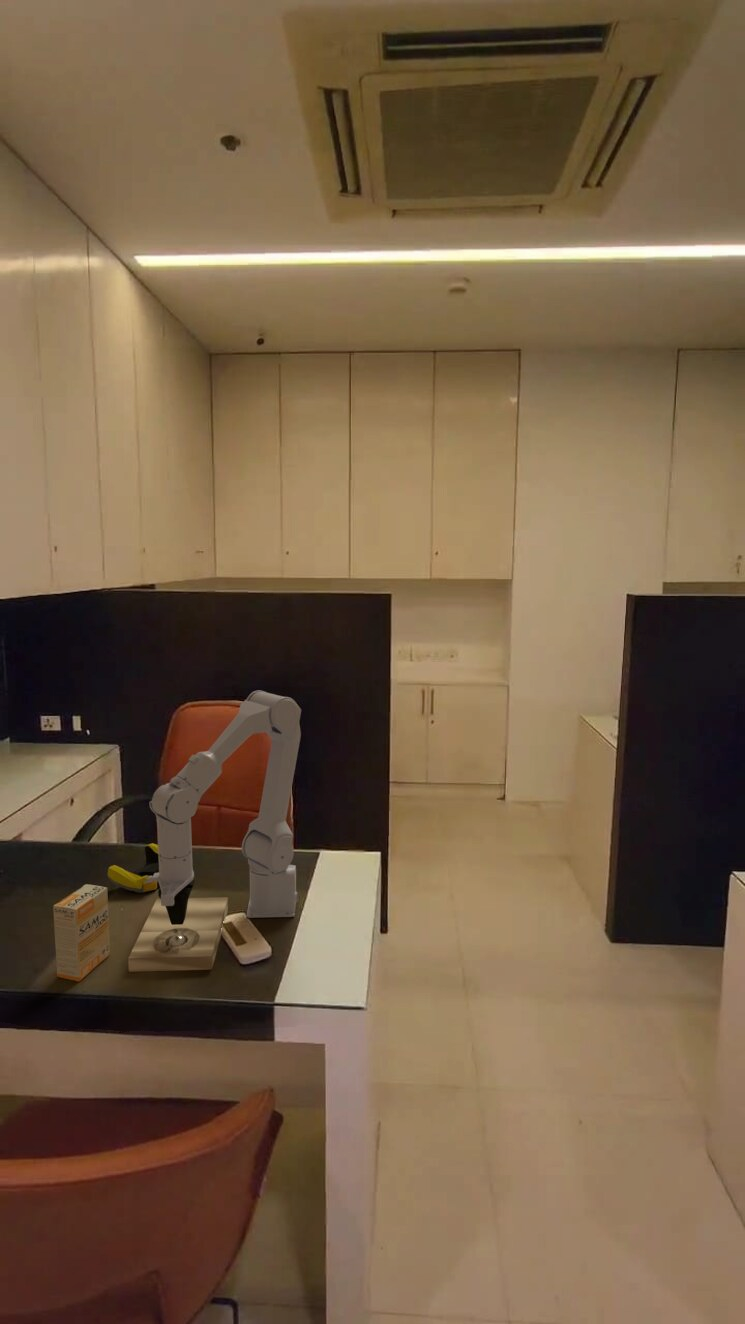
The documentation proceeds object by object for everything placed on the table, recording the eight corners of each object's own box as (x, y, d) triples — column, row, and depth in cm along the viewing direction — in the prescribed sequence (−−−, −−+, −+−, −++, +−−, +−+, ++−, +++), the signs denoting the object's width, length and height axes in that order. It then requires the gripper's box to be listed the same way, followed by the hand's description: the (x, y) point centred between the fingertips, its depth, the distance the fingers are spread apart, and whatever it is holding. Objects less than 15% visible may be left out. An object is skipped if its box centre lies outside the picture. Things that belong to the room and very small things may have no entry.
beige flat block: (157, 910, 135) (156, 898, 135) (228, 908, 136) (227, 897, 136) (128, 971, 116) (128, 958, 115) (211, 969, 117) (211, 956, 116)
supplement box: (80, 983, 112) (76, 910, 110) (56, 977, 114) (51, 905, 112) (112, 955, 120) (108, 886, 118) (89, 950, 121) (85, 882, 119)
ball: (167, 958, 120) (185, 954, 122) (173, 950, 118) (190, 947, 120) (164, 941, 122) (181, 937, 124) (169, 933, 120) (186, 929, 122)
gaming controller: (103, 892, 142) (141, 902, 139) (102, 867, 141) (140, 877, 138) (151, 862, 156) (187, 870, 152) (150, 840, 155) (186, 847, 152)
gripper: (161, 834, 126) (164, 902, 128) (141, 871, 112) (144, 946, 114) (200, 834, 127) (202, 901, 129) (184, 870, 112) (187, 945, 115)
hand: (178, 922), depth 122 cm, fingers closed
